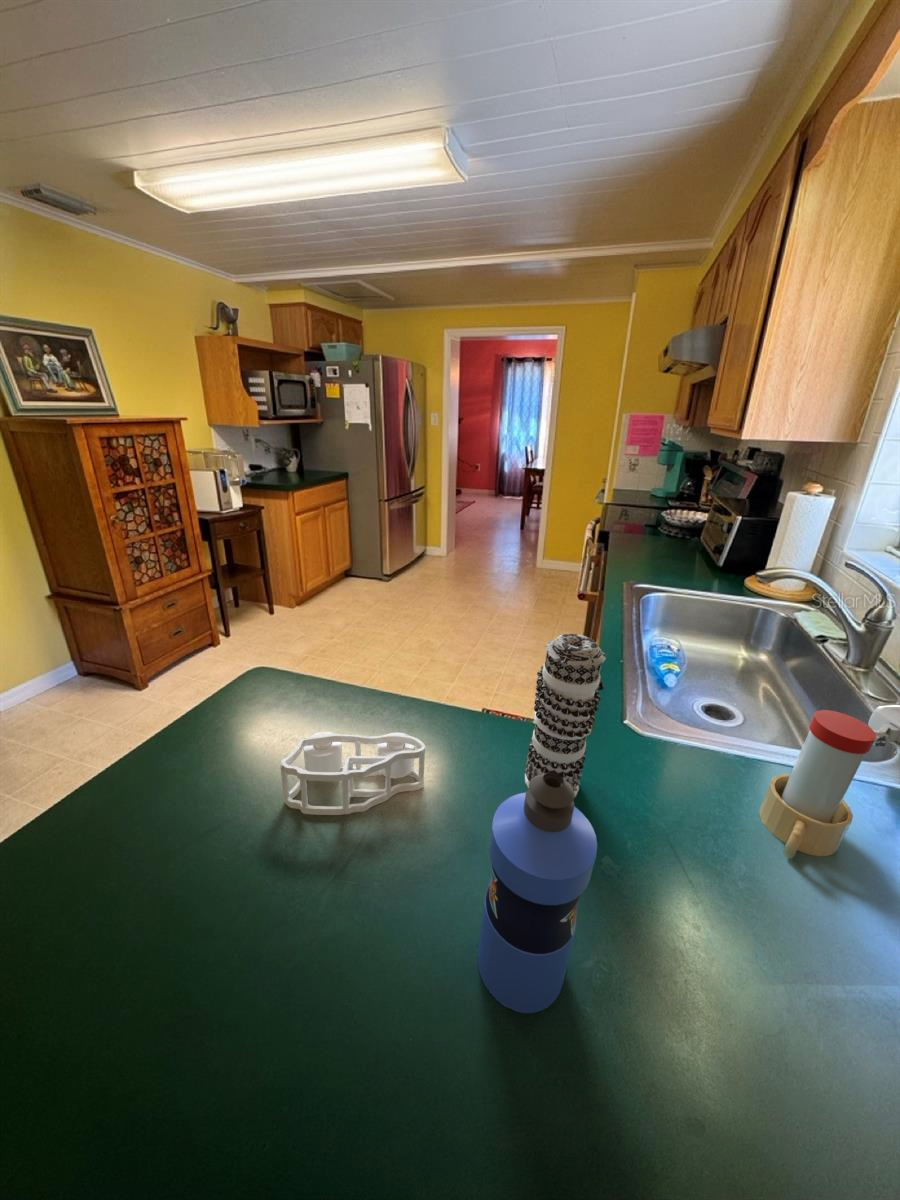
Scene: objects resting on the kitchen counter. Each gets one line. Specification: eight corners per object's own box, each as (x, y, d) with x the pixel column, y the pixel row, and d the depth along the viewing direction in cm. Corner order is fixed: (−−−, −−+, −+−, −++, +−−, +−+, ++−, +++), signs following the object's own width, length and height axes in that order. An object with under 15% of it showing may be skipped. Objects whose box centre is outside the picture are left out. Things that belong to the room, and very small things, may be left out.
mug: (766, 794, 74) (778, 764, 72) (840, 831, 68) (856, 799, 66) (745, 841, 66) (758, 809, 63) (827, 887, 60) (845, 854, 57)
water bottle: (467, 996, 47) (489, 807, 37) (485, 907, 55) (507, 734, 45) (562, 1029, 45) (612, 838, 35) (567, 932, 53) (608, 756, 43)
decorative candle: (540, 753, 80) (562, 620, 70) (591, 782, 75) (622, 642, 65) (510, 781, 74) (529, 640, 64) (563, 815, 68) (593, 665, 58)
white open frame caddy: (424, 760, 77) (425, 724, 74) (423, 815, 67) (425, 775, 64) (299, 759, 76) (296, 722, 73) (279, 815, 65) (275, 774, 63)
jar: (802, 809, 71) (848, 710, 64) (835, 846, 65) (890, 742, 58) (761, 808, 71) (802, 709, 64) (790, 845, 65) (839, 740, 58)
